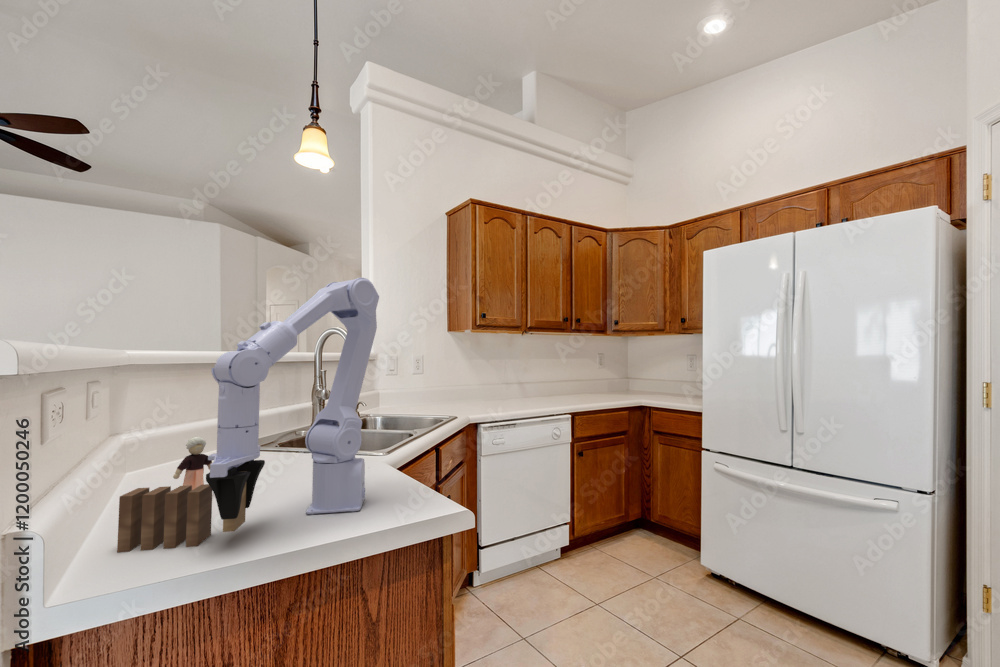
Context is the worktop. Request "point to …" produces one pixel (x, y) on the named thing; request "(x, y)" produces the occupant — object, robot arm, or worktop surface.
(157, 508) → the domino
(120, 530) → the domino
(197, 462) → the grandmother figurine
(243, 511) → the domino
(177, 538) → the domino
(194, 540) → the domino
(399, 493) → the worktop surface
